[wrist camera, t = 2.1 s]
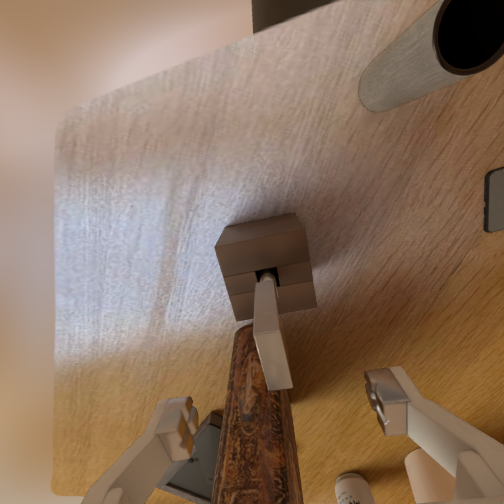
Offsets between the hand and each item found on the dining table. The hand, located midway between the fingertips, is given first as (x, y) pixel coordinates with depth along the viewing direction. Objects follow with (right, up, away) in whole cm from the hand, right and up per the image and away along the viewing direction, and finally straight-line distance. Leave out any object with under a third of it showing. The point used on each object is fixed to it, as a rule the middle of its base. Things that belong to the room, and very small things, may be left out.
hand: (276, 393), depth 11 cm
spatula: (0, +6, +17) cm, 18 cm away
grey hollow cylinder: (+11, +22, +11) cm, 27 cm away
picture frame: (-7, -31, +32) cm, 45 cm away
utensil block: (0, +6, +17) cm, 18 cm away
